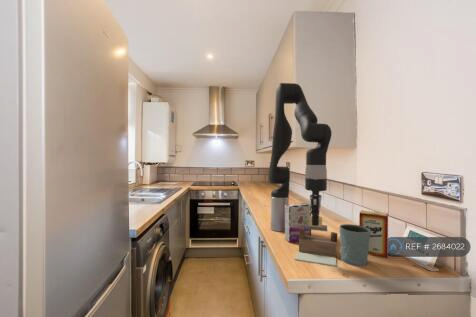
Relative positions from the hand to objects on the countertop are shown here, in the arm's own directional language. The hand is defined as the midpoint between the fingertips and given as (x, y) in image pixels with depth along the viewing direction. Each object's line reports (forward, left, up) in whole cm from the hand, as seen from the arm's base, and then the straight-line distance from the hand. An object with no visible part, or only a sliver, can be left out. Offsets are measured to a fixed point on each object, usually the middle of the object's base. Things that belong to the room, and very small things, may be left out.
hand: (315, 223), depth 86 cm
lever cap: (0, 0, -2) cm, 2 cm away
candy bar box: (-20, -9, -13) cm, 25 cm away
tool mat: (0, 0, -13) cm, 13 cm away
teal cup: (-4, +13, -13) cm, 19 cm away
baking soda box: (-17, +21, -13) cm, 30 cm away
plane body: (-9, 0, -13) cm, 16 cm away
